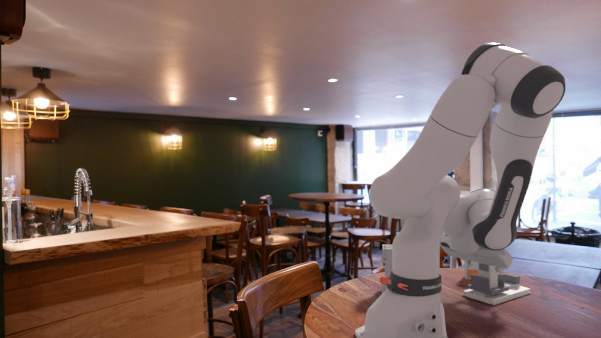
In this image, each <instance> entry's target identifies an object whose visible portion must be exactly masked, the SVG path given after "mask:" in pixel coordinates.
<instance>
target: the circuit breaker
mask: <svg viewBox="0 0 601 338" xmlns="http://www.w3.org/2000/svg"><path fill="white" fill-rule="evenodd" d="M392 244H393V243H392ZM392 244H391V243H390V244H389V243H386V244H382V247H381V264H384V275H383V274H382V275H383V276H386V277H390V273H391V271H392ZM386 289H387V285H385V284H381V295H382V294H383V292H384V291H385V290H386Z"/></svg>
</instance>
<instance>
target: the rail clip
mask: <svg viewBox="0 0 601 338" xmlns="http://www.w3.org/2000/svg"><path fill="white" fill-rule="evenodd" d="M520 278H521V276H520V275H516V274H512V273H508V272H504V273H499V272H498V287H494V288H491V289H490V279H489V278H486V277H482V276H478V275H474V274H471V280H470V283H469V284H466V288H467V290H468V289H472V290H473V294H476V295H479V296H482V297H485V296H488V295H495V294H498V293H501V292H504V291H508V290H509V289H511V288H514V287H518V286H521V281H520V280H521V279H520Z"/></svg>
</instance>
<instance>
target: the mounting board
mask: <svg viewBox="0 0 601 338" xmlns="http://www.w3.org/2000/svg"><path fill="white" fill-rule="evenodd" d="M462 292H463V294H462V296H464V297H467V298H470V299H473V300H476V301H480V302H482V303H485V304H489V305H491V304H492V305H491V306H497V305H500V304H501V303H505V302H508V301H511V300H514V299H517V298H520V297H523V296H526V295H529V294H531V288H529V287H526V286H522V285H520V286H518V287H514V288H511V289H509V290H508V291H504V292H501V293H498V294H495V295H488V296H485V297H482V296H479V295H476V294H473V290H472V289H468V288H467V289H464V290H462Z"/></svg>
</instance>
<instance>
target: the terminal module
mask: <svg viewBox="0 0 601 338" xmlns="http://www.w3.org/2000/svg"><path fill="white" fill-rule="evenodd" d="M495 267H496V266H492V265H488V264H483V263H479V262H478V276H482V277H486V278H489V279H490V289H491V288H494V287H498V273H499V272H496V270H495Z"/></svg>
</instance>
